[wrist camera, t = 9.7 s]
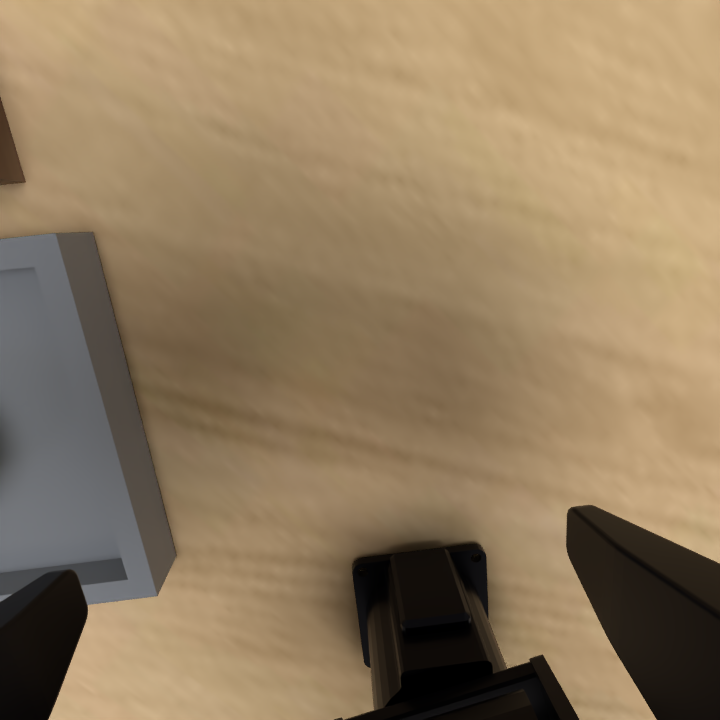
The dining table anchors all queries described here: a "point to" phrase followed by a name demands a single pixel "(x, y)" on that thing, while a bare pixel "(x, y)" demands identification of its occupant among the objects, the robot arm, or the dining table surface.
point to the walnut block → (8, 154)
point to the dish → (72, 430)
